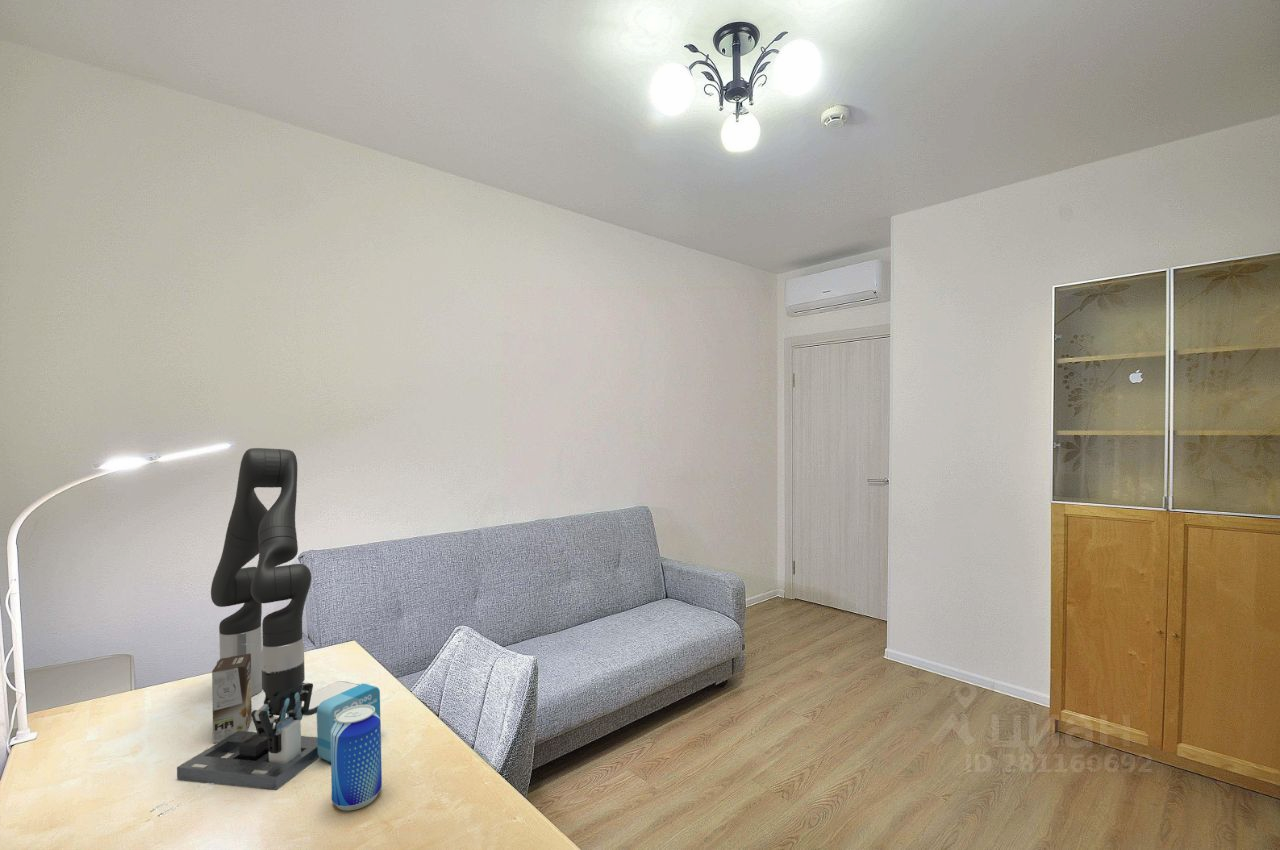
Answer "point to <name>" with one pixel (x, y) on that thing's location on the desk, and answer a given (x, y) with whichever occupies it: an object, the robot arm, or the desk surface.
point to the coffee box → (231, 696)
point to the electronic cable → (177, 805)
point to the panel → (246, 763)
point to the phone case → (327, 694)
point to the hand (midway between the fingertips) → (284, 745)
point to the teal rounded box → (335, 705)
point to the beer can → (356, 757)
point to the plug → (288, 741)
